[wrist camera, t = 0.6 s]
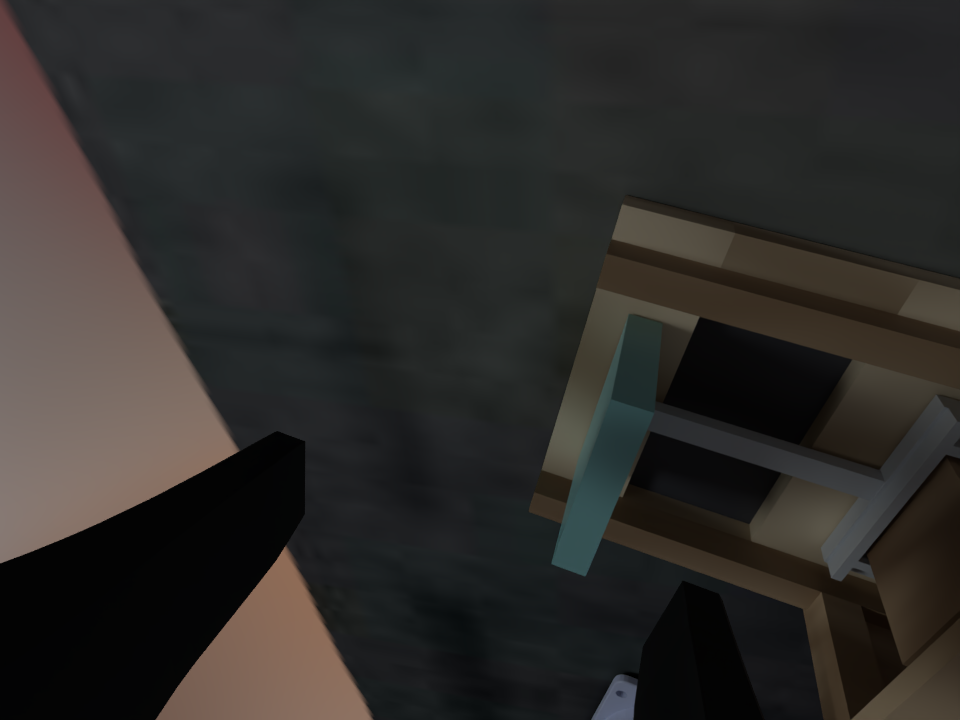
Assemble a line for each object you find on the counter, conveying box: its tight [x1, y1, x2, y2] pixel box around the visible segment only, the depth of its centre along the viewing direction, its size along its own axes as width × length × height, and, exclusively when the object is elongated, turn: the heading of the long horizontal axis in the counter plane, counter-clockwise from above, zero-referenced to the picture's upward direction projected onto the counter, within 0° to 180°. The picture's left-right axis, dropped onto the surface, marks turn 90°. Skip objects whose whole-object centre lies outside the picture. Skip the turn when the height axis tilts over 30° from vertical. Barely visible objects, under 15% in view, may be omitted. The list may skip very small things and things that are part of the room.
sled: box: [551, 314, 960, 581], centre depth 16 cm, size 6×14×5 cm, turn 81°
